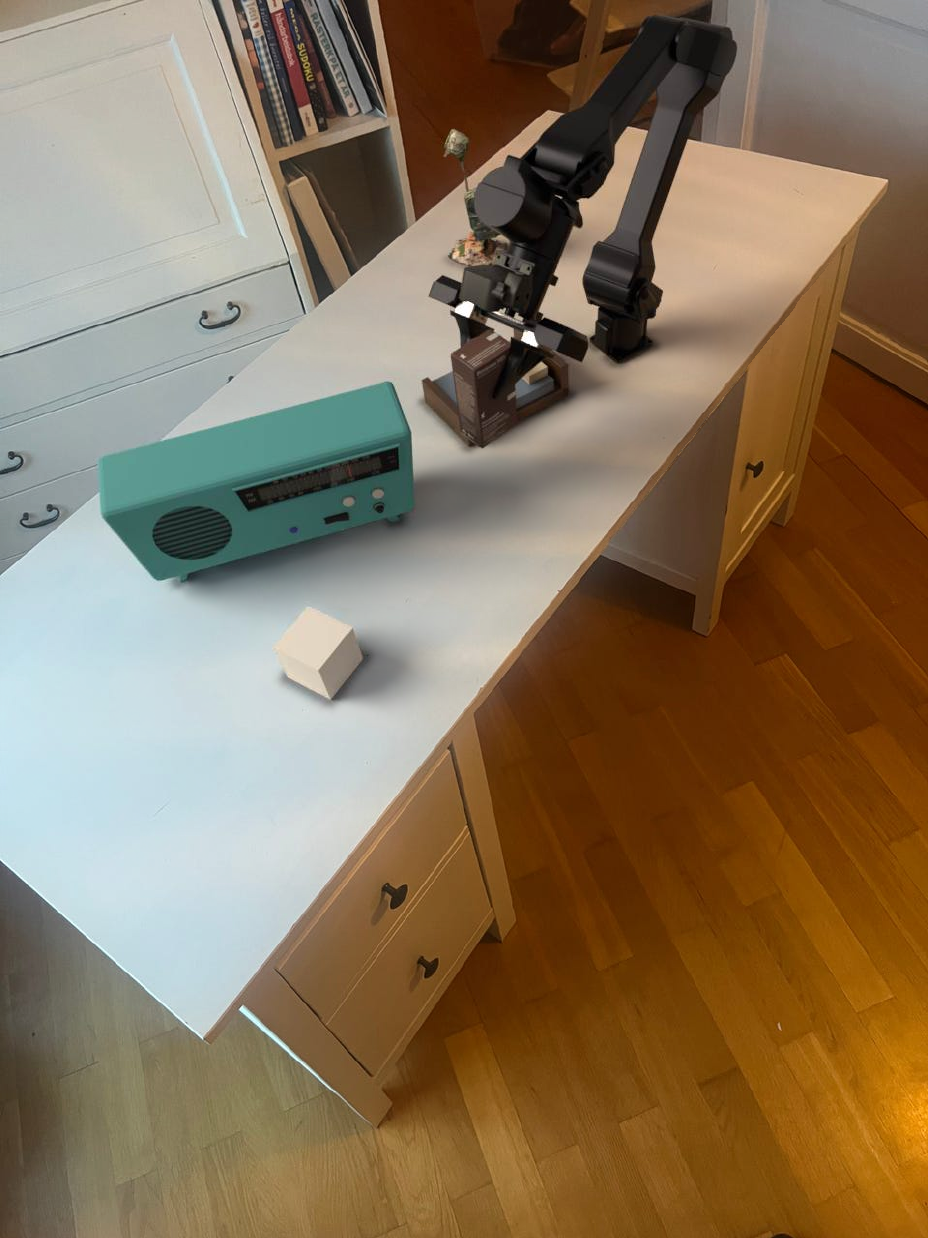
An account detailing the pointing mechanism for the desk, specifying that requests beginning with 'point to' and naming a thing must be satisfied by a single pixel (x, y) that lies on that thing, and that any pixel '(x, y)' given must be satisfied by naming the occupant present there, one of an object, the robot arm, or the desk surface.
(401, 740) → the desk surface
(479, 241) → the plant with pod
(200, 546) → the radio
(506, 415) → the box
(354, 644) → the cream cube
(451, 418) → the bed
